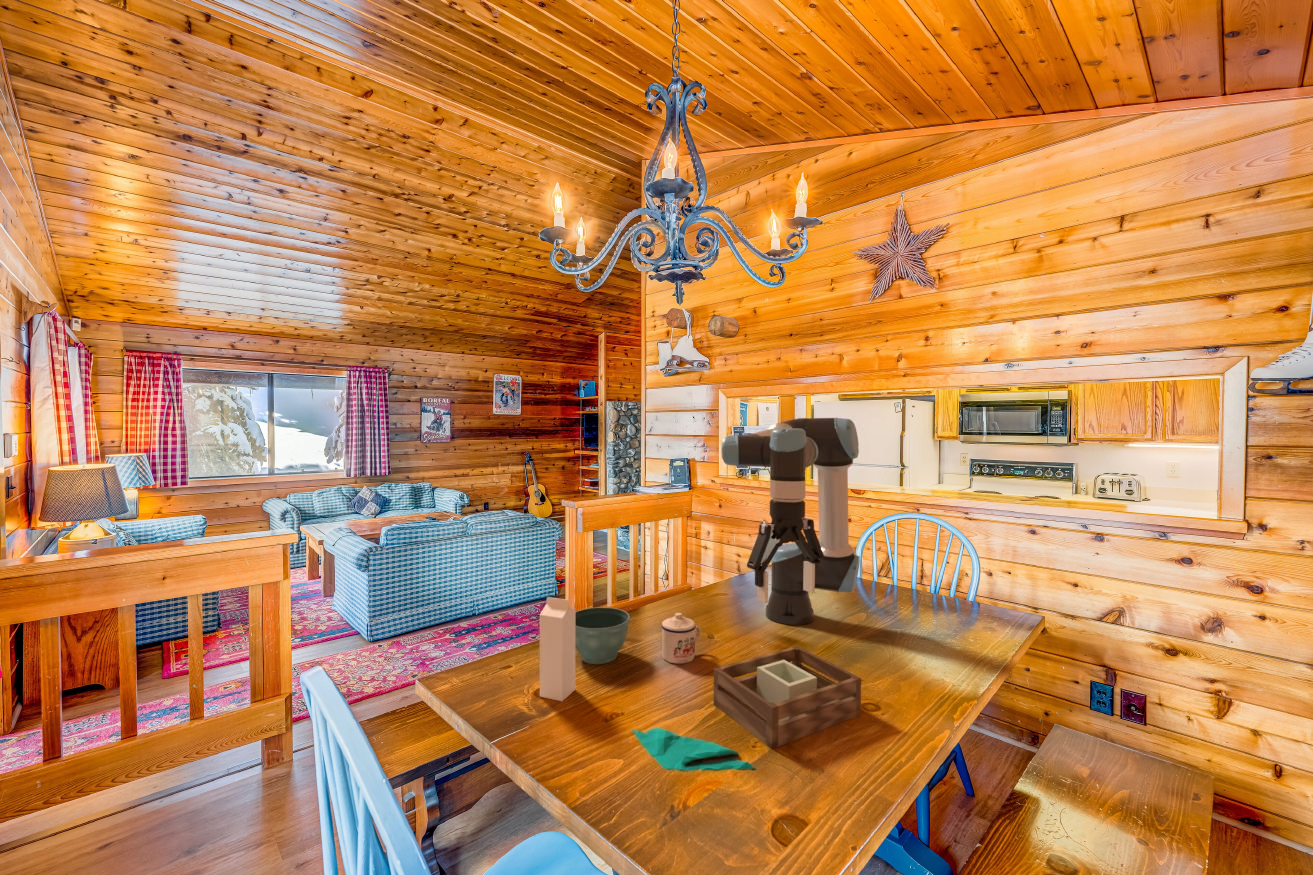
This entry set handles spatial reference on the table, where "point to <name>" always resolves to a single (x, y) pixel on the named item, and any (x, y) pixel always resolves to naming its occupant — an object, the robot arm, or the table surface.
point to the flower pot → (600, 633)
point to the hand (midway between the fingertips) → (786, 596)
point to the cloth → (687, 752)
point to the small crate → (784, 682)
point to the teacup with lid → (679, 639)
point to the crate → (771, 717)
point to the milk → (557, 649)
